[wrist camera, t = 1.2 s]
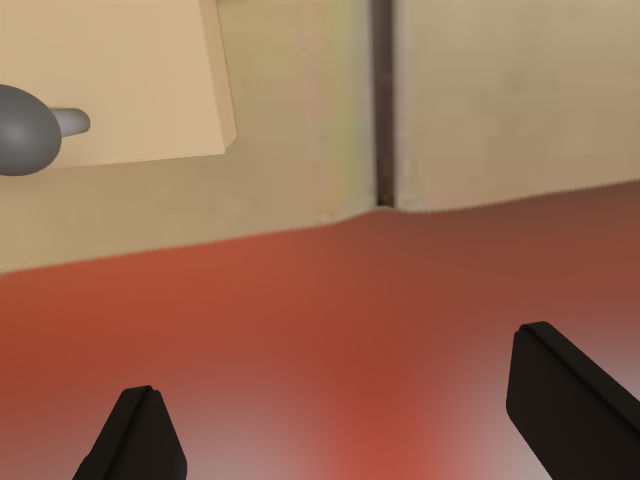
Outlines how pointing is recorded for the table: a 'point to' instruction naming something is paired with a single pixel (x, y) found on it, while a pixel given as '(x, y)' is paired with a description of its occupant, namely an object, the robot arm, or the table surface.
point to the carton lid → (103, 84)
